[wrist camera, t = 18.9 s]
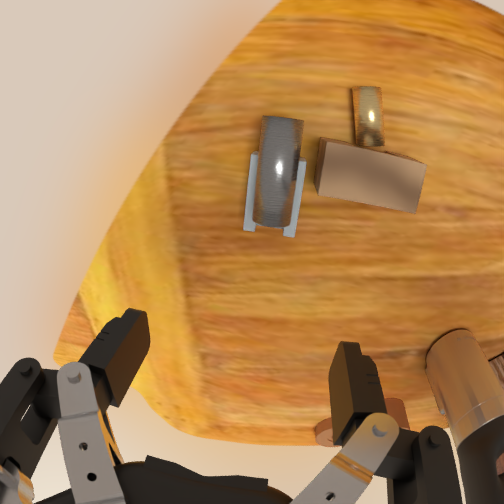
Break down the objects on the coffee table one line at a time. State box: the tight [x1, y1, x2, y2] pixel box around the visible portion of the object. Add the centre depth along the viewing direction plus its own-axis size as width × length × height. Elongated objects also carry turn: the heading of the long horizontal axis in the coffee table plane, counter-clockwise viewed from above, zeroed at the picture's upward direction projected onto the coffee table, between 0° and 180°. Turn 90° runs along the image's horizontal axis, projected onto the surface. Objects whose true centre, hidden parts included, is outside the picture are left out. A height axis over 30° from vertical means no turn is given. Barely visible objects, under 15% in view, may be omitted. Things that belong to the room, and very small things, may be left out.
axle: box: [252, 116, 304, 228], centre depth 28 cm, size 10×4×4 cm, turn 175°
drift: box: [352, 87, 385, 146], centre depth 27 cm, size 6×3×3 cm
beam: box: [314, 137, 427, 214], centre depth 28 cm, size 5×10×5 cm, turn 84°
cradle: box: [243, 151, 307, 237], centre depth 31 cm, size 8×5×3 cm
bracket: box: [315, 398, 410, 447], centre depth 46 cm, size 18×8×7 cm, turn 123°
